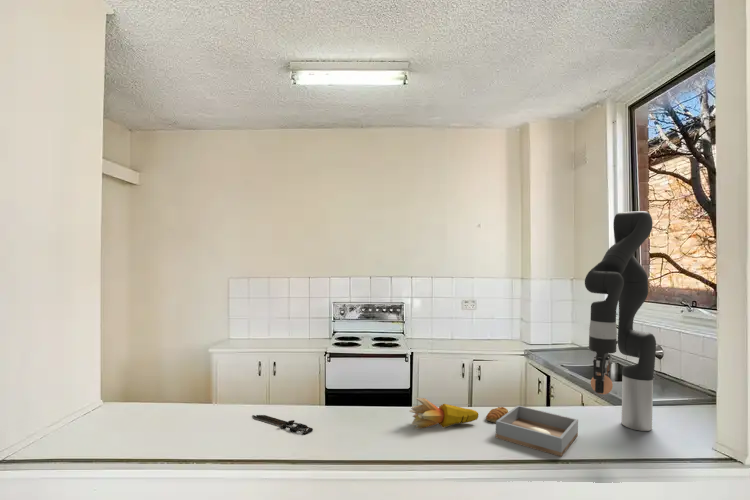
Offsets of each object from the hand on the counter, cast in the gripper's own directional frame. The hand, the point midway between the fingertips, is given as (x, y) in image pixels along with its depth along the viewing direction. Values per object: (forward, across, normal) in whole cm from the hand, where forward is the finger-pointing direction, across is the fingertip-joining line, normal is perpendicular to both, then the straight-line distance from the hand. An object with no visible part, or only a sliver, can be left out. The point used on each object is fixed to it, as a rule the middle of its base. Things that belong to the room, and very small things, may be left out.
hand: (601, 390), depth 133 cm
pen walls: (+16, -4, +18) cm, 24 cm away
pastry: (+18, +2, +33) cm, 38 cm away
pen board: (+18, -4, +18) cm, 25 cm away
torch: (+18, -17, +45) cm, 51 cm away
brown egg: (-2, 0, 0) cm, 2 cm away
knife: (+19, -52, +87) cm, 103 cm away
